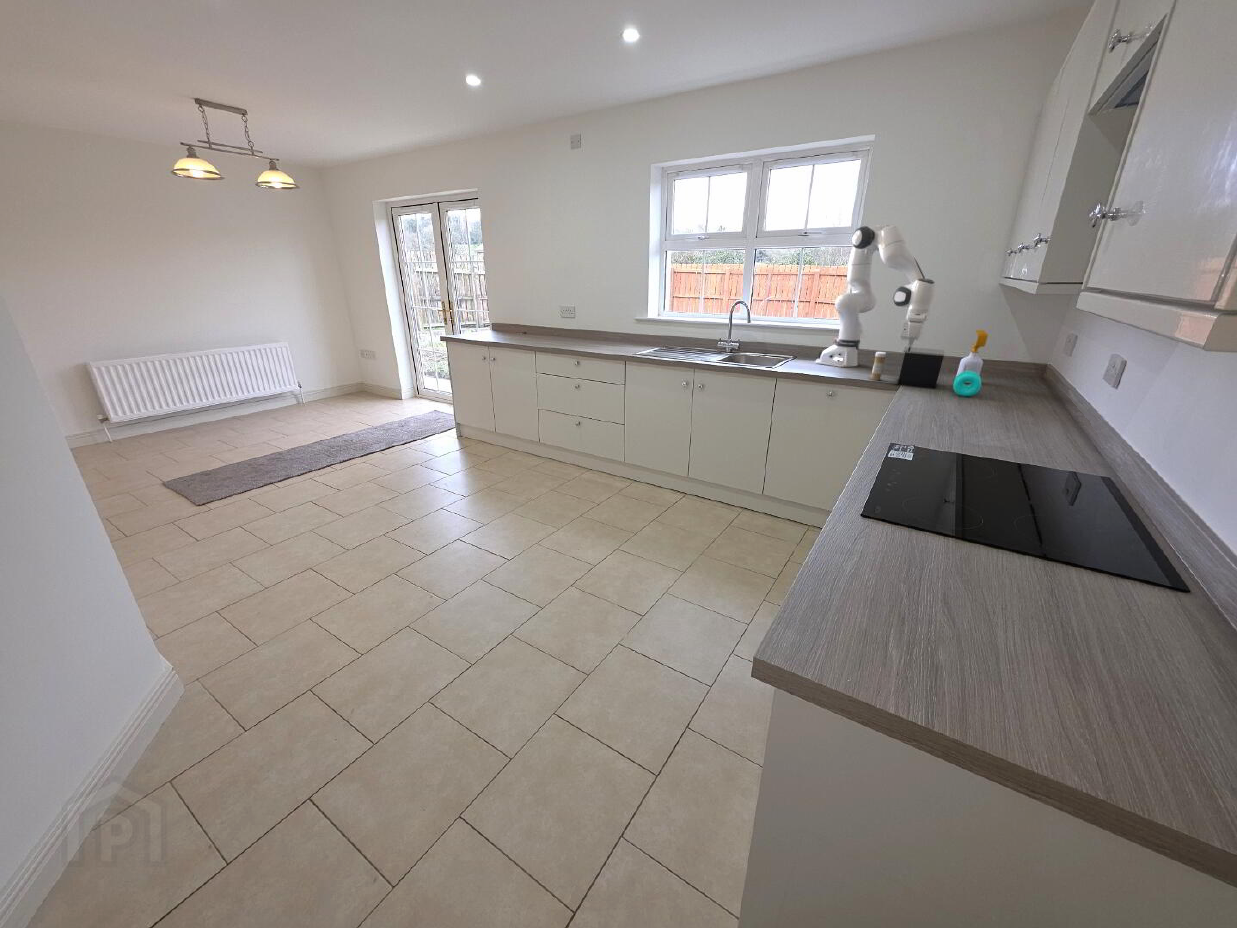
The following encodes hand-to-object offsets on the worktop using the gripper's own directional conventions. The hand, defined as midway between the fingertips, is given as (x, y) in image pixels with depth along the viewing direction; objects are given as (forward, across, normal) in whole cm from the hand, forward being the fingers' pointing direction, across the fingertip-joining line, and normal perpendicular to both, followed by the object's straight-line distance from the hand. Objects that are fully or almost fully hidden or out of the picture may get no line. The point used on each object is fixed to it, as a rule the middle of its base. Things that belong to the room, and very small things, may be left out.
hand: (910, 346), depth 231 cm
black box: (+18, 0, +6) cm, 19 cm away
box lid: (+2, 0, +6) cm, 6 cm away
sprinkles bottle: (+18, 0, -12) cm, 21 cm away
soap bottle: (+18, -19, +27) cm, 38 cm away
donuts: (+18, +11, +25) cm, 33 cm away
